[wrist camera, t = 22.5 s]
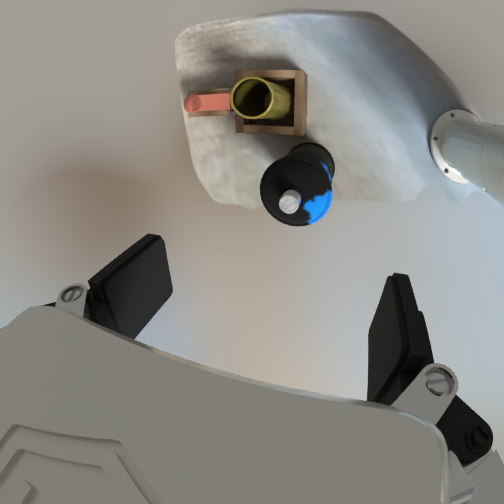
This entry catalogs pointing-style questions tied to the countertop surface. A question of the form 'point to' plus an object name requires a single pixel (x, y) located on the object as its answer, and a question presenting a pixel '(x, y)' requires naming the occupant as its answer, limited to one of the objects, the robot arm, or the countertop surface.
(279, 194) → the aerosol can
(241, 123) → the block
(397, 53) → the countertop surface
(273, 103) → the vase
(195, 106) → the keeper bar
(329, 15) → the countertop surface
